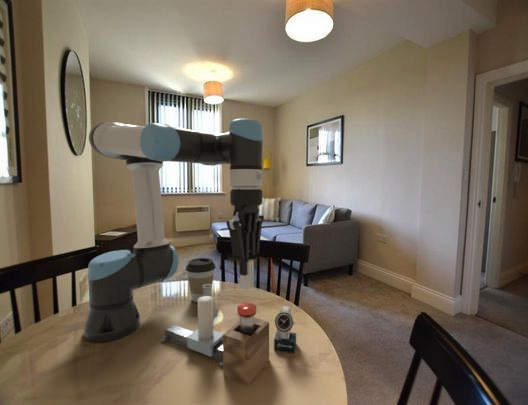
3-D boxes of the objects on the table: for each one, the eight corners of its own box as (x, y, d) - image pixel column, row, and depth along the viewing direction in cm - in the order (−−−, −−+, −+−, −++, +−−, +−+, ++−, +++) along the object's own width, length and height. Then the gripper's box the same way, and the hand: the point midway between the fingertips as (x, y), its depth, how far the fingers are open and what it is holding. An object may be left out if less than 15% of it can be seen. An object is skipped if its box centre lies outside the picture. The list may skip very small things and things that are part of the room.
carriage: (186, 348, 70) (185, 300, 69) (202, 336, 75) (201, 292, 74) (210, 357, 66) (209, 307, 65) (224, 344, 71) (224, 298, 70)
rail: (161, 342, 75) (160, 331, 74) (177, 331, 80) (176, 322, 80) (223, 367, 64) (223, 356, 64) (237, 353, 69) (237, 342, 69)
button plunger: (233, 334, 63) (233, 309, 62) (244, 325, 67) (244, 301, 66) (250, 339, 61) (250, 313, 60) (259, 329, 65) (259, 305, 64)
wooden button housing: (223, 375, 62) (222, 334, 61) (245, 351, 70) (245, 315, 70) (248, 386, 58) (248, 343, 58) (269, 359, 67) (269, 322, 66)
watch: (272, 354, 69) (272, 314, 68) (278, 337, 77) (278, 301, 76) (293, 358, 68) (294, 317, 67) (297, 340, 76) (297, 303, 75)
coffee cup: (222, 296, 104) (221, 259, 103) (201, 308, 95) (200, 267, 94) (201, 290, 110) (200, 255, 109) (179, 300, 101) (179, 262, 100)
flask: (213, 320, 86) (213, 290, 86) (193, 318, 88) (192, 289, 87) (221, 309, 94) (221, 282, 93) (202, 308, 95) (202, 281, 94)
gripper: (244, 189, 54) (245, 300, 55) (273, 188, 65) (273, 280, 67) (215, 188, 57) (216, 293, 59) (247, 187, 69) (248, 275, 71)
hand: (246, 286), depth 63 cm, fingers closed
